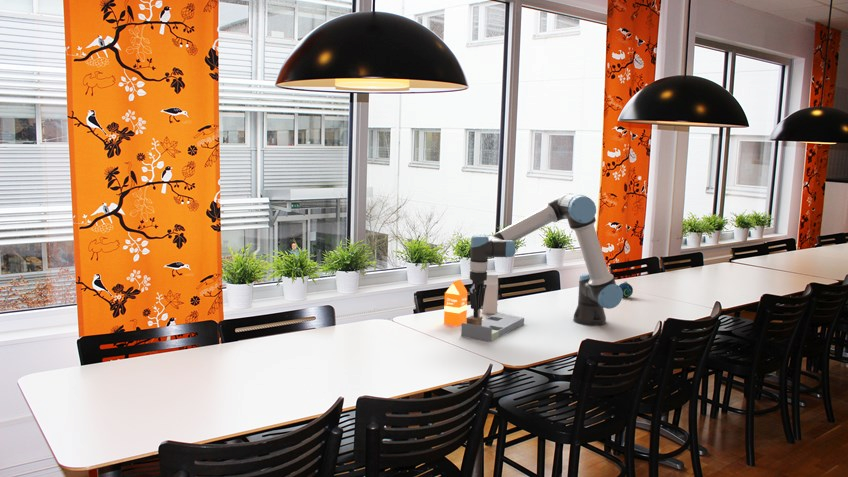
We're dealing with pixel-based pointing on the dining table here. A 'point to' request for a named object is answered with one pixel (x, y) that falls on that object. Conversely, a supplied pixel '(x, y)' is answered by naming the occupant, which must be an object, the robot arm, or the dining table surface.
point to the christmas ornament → (626, 289)
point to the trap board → (491, 327)
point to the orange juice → (455, 304)
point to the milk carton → (491, 295)
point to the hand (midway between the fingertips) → (476, 323)
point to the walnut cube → (474, 320)
